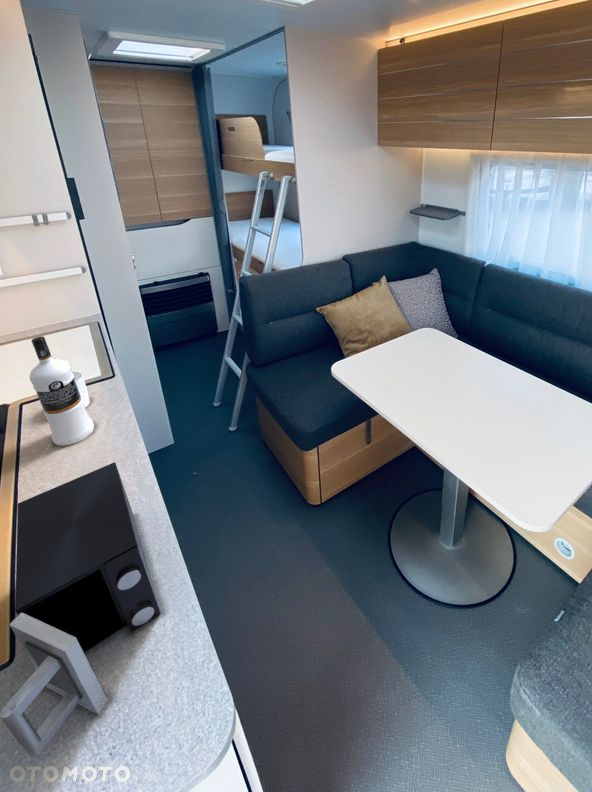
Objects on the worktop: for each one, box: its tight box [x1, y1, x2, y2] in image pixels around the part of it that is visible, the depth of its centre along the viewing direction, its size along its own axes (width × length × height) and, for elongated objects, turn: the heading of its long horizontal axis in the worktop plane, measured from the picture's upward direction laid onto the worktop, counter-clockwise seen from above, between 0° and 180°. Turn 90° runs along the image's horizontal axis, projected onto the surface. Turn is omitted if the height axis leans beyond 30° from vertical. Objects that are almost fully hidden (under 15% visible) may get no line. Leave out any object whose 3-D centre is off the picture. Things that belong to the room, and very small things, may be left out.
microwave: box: [14, 461, 162, 654], centre depth 70 cm, size 24×15×16 cm, turn 38°
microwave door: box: [0, 612, 109, 760], centre depth 54 cm, size 8×10×16 cm
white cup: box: [72, 371, 91, 408], centre depth 120 cm, size 8×8×10 cm
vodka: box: [29, 335, 95, 447], centre depth 105 cm, size 9×9×30 cm
